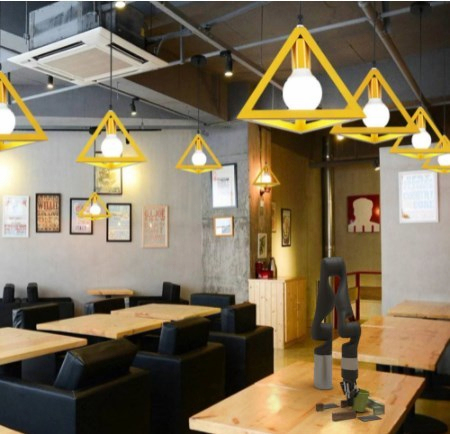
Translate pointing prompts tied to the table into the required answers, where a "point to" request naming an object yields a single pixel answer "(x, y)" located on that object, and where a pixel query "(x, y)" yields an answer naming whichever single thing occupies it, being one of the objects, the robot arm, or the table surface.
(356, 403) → the plant pot
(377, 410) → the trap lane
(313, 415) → the table surface
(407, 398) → the table surface
